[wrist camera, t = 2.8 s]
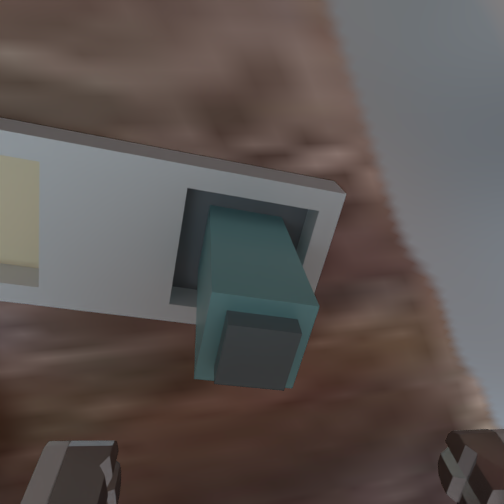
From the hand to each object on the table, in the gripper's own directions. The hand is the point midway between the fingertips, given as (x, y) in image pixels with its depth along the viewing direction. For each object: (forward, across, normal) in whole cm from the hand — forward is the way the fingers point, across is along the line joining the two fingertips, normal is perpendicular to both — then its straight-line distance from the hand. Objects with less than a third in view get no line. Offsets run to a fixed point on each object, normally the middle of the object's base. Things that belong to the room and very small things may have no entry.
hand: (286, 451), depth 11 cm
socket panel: (+13, +6, -1) cm, 14 cm away
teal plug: (+12, 0, 0) cm, 13 cm away
